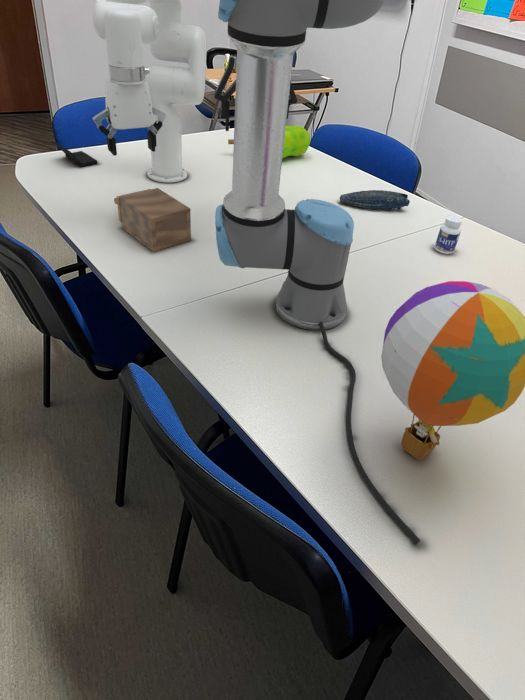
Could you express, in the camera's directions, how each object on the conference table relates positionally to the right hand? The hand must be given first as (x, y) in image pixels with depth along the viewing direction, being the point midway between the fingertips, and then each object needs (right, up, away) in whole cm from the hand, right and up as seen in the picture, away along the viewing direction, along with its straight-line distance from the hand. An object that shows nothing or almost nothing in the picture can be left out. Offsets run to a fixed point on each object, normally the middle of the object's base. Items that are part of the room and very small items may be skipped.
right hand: (253, 131), depth 132 cm
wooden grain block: (-25, -26, +3) cm, 36 cm away
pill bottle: (+51, -29, +9) cm, 59 cm away
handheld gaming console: (-59, +7, +39) cm, 71 cm away
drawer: (-29, -22, +6) cm, 37 cm away
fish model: (+36, -11, +28) cm, 47 cm away
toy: (+27, -72, -48) cm, 91 cm away
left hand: (-29, -7, -5) cm, 31 cm away
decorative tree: (+5, +15, +58) cm, 60 cm away
